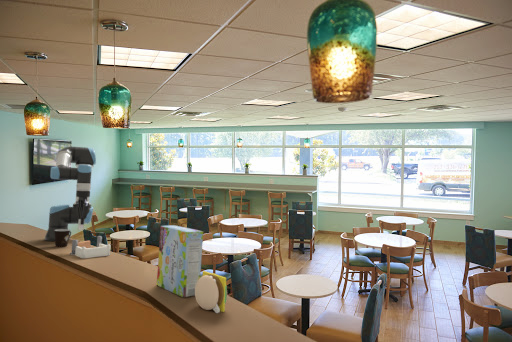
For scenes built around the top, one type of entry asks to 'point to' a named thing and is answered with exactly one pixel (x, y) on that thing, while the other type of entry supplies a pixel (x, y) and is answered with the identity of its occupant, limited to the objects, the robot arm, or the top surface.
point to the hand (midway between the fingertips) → (80, 229)
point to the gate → (79, 244)
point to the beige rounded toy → (211, 292)
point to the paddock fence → (93, 250)
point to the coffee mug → (61, 237)
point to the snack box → (179, 259)
